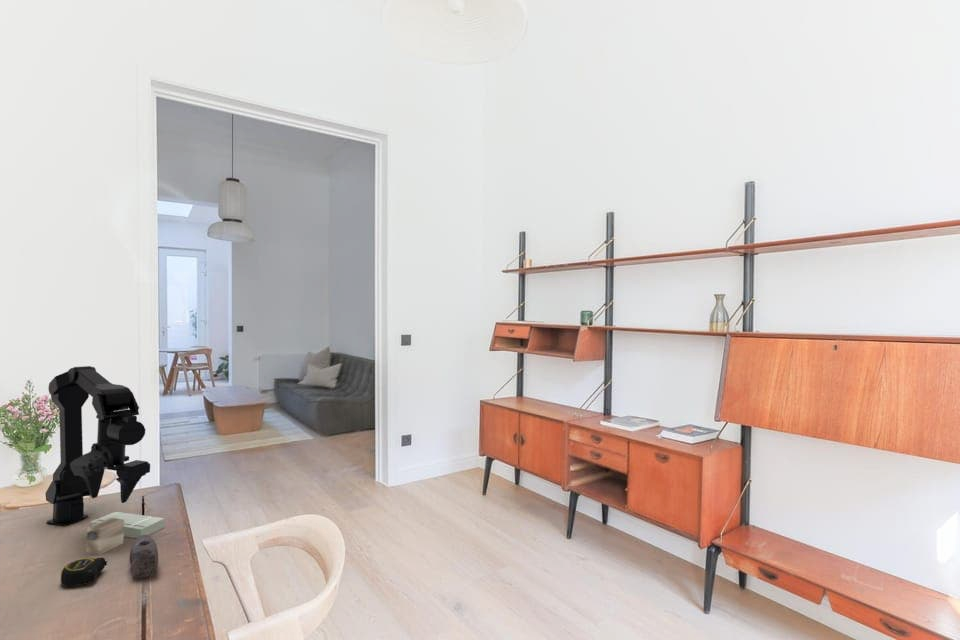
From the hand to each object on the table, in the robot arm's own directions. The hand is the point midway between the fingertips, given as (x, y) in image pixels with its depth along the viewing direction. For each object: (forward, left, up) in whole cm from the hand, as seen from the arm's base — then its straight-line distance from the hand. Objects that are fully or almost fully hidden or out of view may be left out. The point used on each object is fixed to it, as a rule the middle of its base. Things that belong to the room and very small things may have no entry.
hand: (109, 500), depth 121 cm
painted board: (-2, +7, -11) cm, 13 cm away
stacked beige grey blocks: (+2, -2, -11) cm, 11 cm away
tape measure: (+12, -15, -11) cm, 22 cm away
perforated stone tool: (+19, -8, -11) cm, 23 cm away
